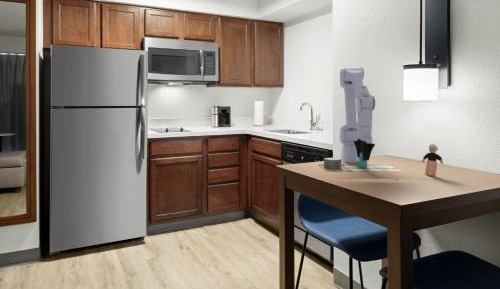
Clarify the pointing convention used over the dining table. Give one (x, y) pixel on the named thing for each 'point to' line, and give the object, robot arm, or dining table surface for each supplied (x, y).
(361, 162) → the pawn
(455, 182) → the dining table surface
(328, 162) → the grey symbol block
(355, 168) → the board
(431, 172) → the grandmother figurine
